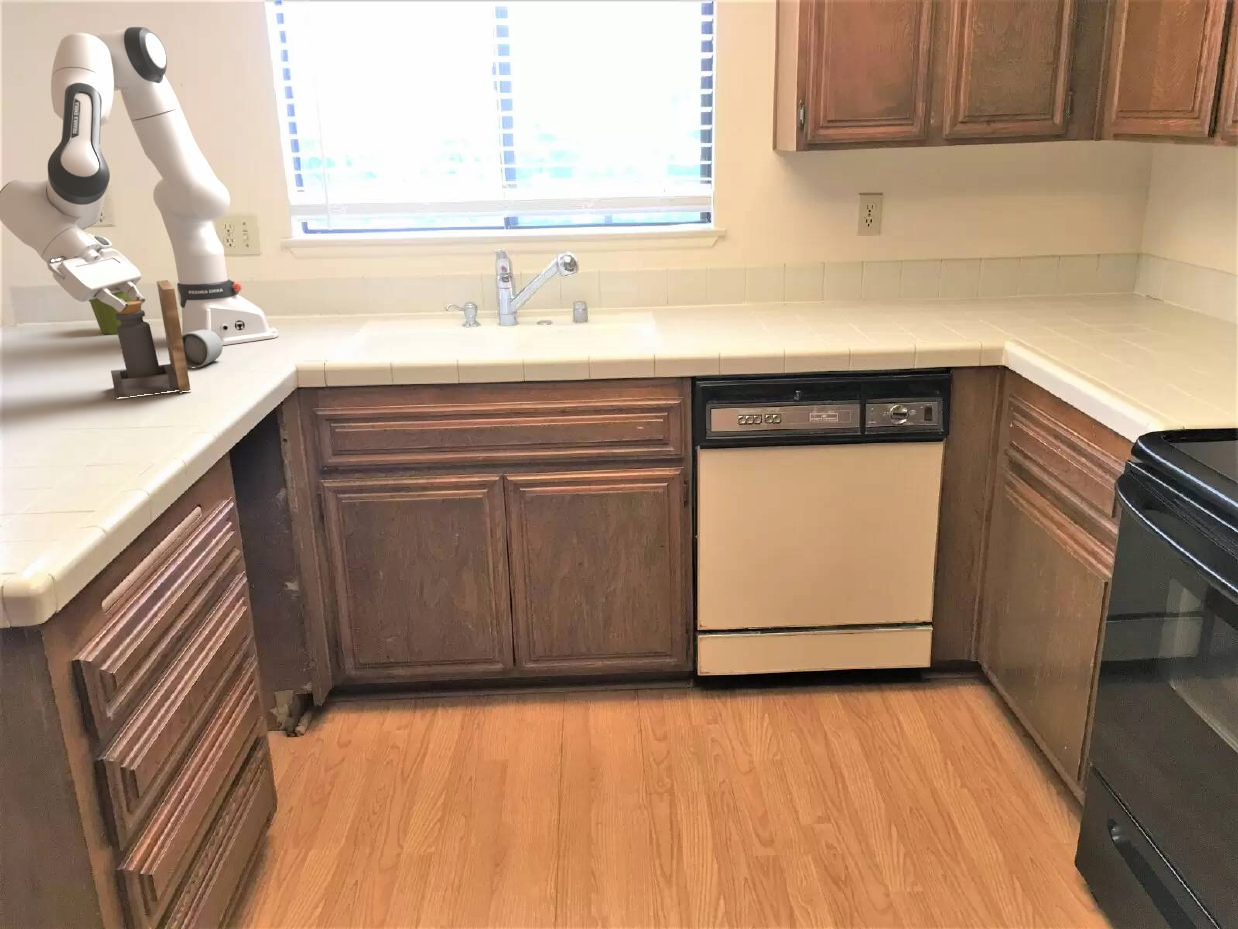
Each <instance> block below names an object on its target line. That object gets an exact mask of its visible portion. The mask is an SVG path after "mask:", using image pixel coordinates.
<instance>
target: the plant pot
mask: <svg viewBox="0 0 1238 929" xmlns="http://www.w3.org/2000/svg"><path fill="white" fill-rule="evenodd" d="M112 295H114V296H115V297H117V298H119V299H121V298H122V299H123V300H124V301H125V302H130V300H131V298H130V297H129V295H128V294H125V293H124V292H123V291H119V292H116V293H112ZM88 302H89V304H90V306H91V309H92V312H93V314H94V317H95V319H96V321H97V325H98V327H99V330H100V332H101V334H103V335H106V334H109V335H118V332H117V327H118V326H119V325H121V322H120V320H117V319H116V314H117V313H118V312H117V310H116V309H115V308H113V307H112V306H110V305H108V304H106V303H103V302H101V301H100V300H99V299H98V298H95V299H92V300H88Z"/></svg>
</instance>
